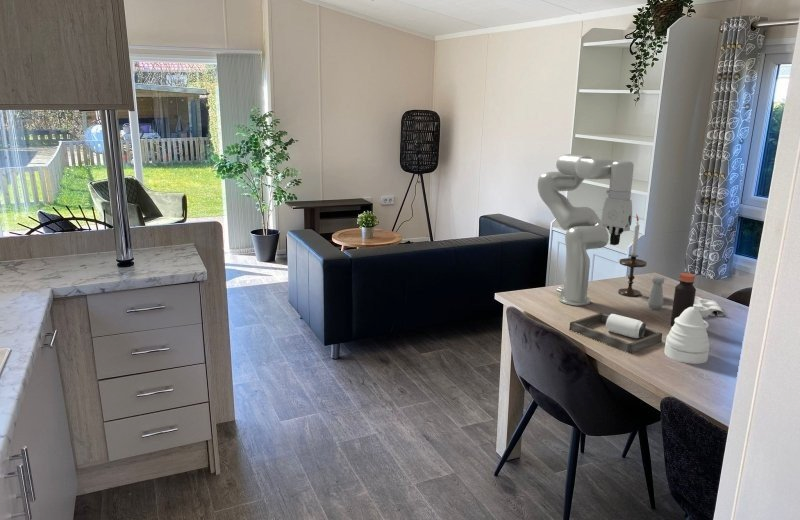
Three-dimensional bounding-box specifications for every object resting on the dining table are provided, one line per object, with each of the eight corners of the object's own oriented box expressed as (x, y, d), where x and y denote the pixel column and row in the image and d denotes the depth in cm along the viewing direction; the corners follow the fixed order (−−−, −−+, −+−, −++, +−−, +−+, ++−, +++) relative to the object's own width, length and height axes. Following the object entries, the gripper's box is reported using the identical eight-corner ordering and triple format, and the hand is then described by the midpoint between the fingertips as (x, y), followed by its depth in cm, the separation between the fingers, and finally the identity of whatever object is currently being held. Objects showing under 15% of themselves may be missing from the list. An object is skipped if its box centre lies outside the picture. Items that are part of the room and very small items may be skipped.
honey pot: (716, 361, 188) (725, 308, 183) (683, 365, 184) (691, 311, 180) (687, 345, 200) (694, 295, 195) (655, 349, 196) (662, 298, 191)
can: (611, 330, 215) (643, 339, 206) (603, 331, 210) (636, 340, 202) (614, 313, 214) (647, 321, 206) (607, 313, 209) (640, 322, 201)
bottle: (674, 321, 221) (681, 271, 216) (693, 326, 217) (700, 274, 211) (667, 326, 217) (674, 274, 212) (686, 331, 212) (693, 278, 207)
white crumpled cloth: (725, 320, 224) (683, 316, 228) (714, 305, 241) (676, 302, 245) (726, 312, 223) (685, 308, 227) (716, 297, 240) (677, 294, 244)
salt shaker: (660, 306, 239) (664, 275, 235) (664, 310, 233) (668, 279, 230) (645, 305, 239) (648, 274, 236) (649, 310, 234) (653, 279, 230)
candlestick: (611, 293, 254) (619, 213, 245) (623, 288, 261) (632, 210, 252) (635, 299, 247) (645, 217, 238) (647, 293, 254) (656, 214, 245)
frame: (569, 330, 212) (569, 322, 212) (600, 320, 223) (600, 312, 222) (630, 353, 193) (631, 345, 192) (661, 341, 203) (662, 333, 202)
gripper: (595, 193, 216) (591, 241, 221) (631, 198, 205) (626, 249, 209) (608, 191, 220) (603, 239, 225) (644, 197, 209) (638, 247, 213)
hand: (614, 244), depth 217 cm, fingers closed
